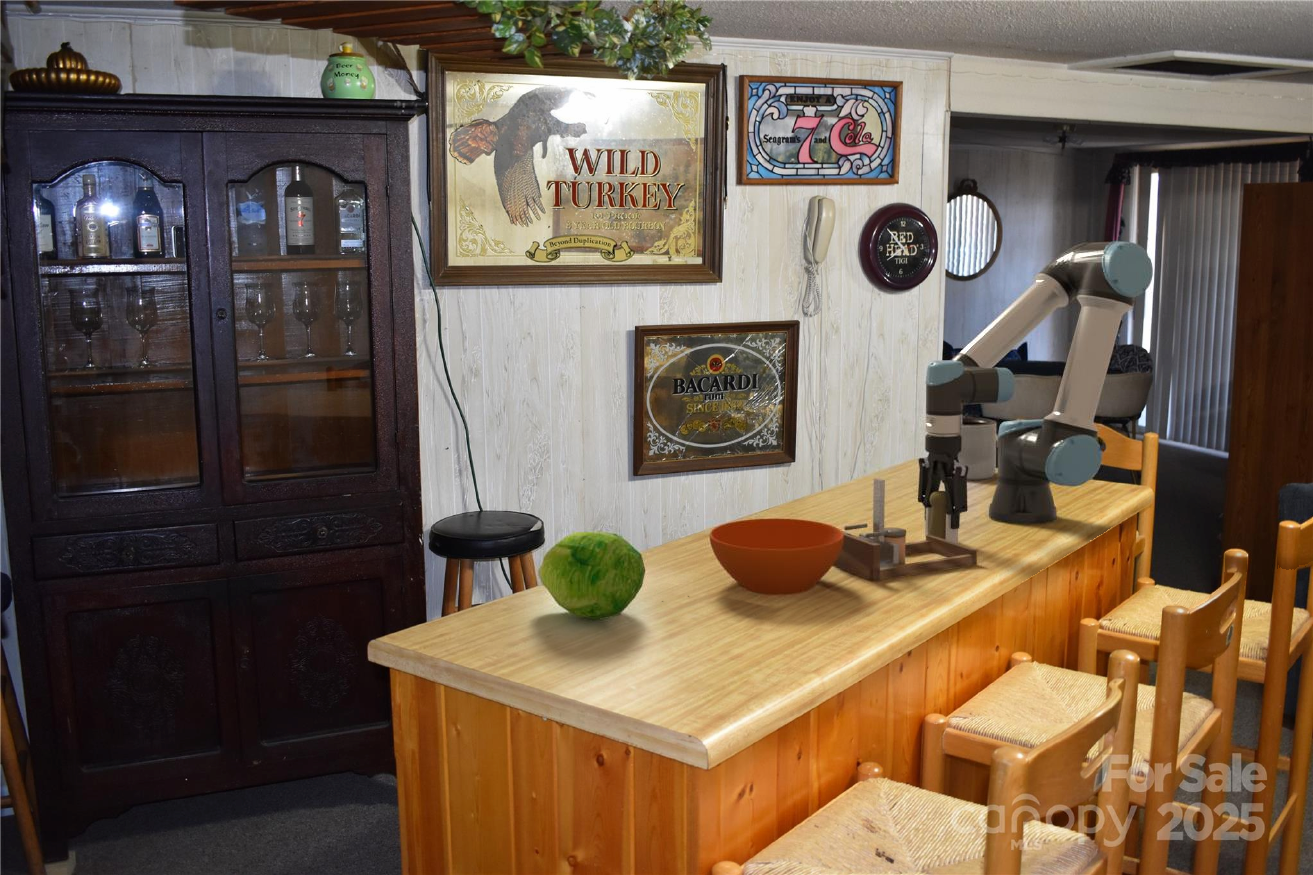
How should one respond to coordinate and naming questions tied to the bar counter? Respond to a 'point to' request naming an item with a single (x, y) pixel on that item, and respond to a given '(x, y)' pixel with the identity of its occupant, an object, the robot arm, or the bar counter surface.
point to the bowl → (776, 553)
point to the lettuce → (593, 574)
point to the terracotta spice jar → (897, 541)
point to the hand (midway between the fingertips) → (941, 539)
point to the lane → (866, 554)
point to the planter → (978, 448)
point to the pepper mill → (938, 514)
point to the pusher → (882, 527)
